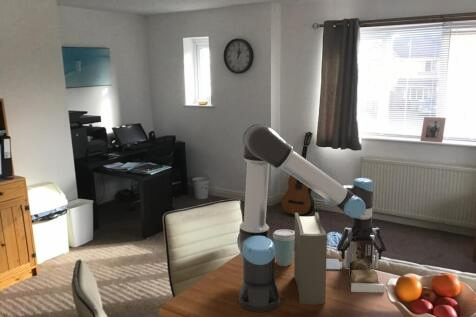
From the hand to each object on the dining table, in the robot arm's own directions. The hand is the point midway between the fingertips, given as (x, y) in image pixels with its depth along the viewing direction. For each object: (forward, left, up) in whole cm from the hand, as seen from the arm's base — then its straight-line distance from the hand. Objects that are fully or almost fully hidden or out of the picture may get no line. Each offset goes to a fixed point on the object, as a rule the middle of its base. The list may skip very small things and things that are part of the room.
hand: (360, 266), depth 170 cm
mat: (-12, +9, -4) cm, 16 cm away
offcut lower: (0, -8, -4) cm, 9 cm away
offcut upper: (0, -8, -1) cm, 8 cm away
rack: (0, -4, -4) cm, 5 cm away
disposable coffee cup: (-31, +10, -4) cm, 33 cm away
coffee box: (0, 0, -4) cm, 4 cm away
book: (-22, -13, -4) cm, 26 cm away
